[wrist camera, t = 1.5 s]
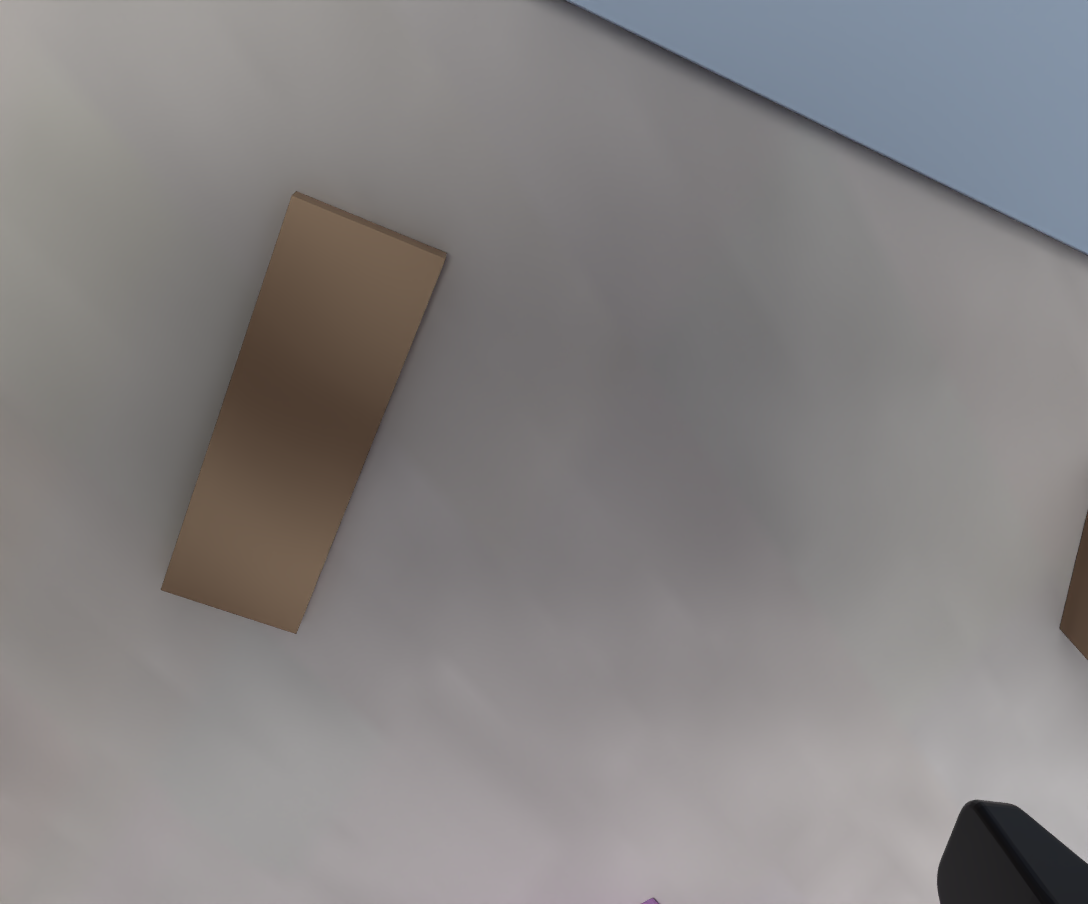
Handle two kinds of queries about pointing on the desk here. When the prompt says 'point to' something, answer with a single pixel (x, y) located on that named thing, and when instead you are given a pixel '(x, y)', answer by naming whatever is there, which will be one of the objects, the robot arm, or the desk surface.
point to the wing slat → (301, 411)
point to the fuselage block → (1078, 599)
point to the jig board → (913, 85)
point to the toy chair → (650, 901)
